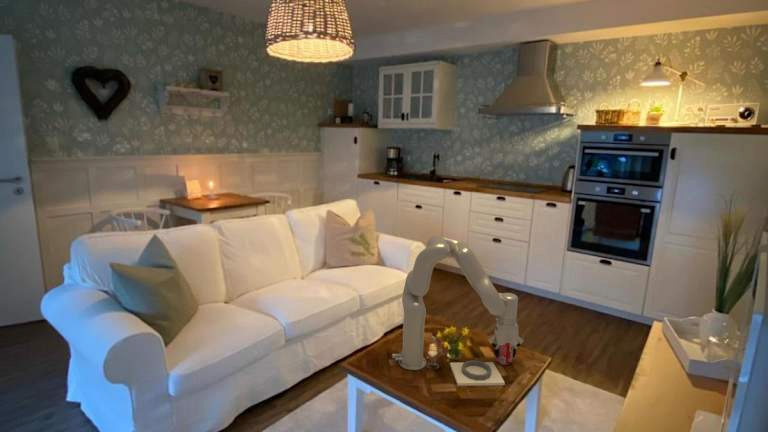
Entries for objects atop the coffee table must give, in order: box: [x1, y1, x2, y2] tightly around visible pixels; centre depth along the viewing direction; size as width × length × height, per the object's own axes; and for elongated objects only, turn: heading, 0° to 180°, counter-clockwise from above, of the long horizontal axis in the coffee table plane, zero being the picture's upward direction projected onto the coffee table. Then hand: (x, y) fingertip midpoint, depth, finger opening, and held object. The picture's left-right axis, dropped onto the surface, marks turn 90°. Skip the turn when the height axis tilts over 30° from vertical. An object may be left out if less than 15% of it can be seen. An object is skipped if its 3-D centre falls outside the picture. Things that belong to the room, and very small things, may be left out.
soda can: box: [496, 341, 514, 366], centre depth 188 cm, size 7×7×12 cm
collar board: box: [449, 359, 505, 387], centre depth 178 cm, size 20×16×3 cm
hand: (504, 355), depth 189 cm, fingers open, 7 cm apart
